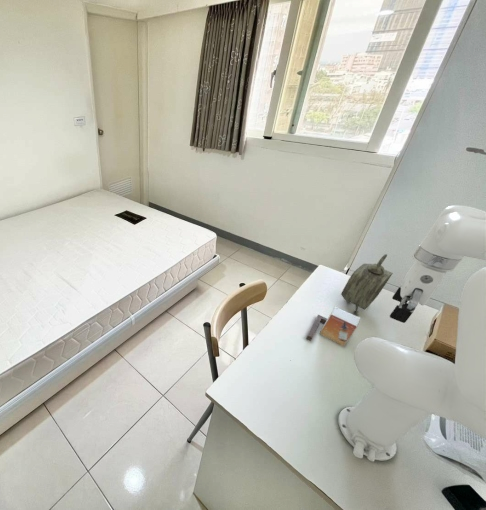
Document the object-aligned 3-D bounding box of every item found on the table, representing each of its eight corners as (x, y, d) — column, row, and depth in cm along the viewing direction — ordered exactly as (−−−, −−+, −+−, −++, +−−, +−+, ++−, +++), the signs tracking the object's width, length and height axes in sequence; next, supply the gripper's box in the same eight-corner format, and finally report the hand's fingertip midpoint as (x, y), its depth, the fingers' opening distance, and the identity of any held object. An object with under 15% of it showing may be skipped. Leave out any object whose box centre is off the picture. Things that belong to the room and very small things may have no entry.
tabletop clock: (357, 319, 105) (391, 268, 91) (333, 305, 111) (361, 255, 97) (372, 303, 112) (405, 254, 98) (349, 291, 118) (377, 243, 104)
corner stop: (341, 357, 91) (343, 353, 90) (305, 338, 97) (307, 335, 96) (349, 333, 99) (351, 330, 98) (316, 318, 105) (318, 314, 104)
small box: (319, 334, 99) (330, 314, 93) (323, 325, 102) (334, 305, 96) (343, 346, 95) (357, 326, 89) (347, 337, 98) (361, 317, 92)
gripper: (461, 280, 57) (415, 335, 66) (454, 249, 68) (415, 300, 77) (415, 266, 61) (377, 320, 70) (415, 239, 72) (383, 288, 81)
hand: (397, 309), depth 74 cm, fingers open, 9 cm apart
